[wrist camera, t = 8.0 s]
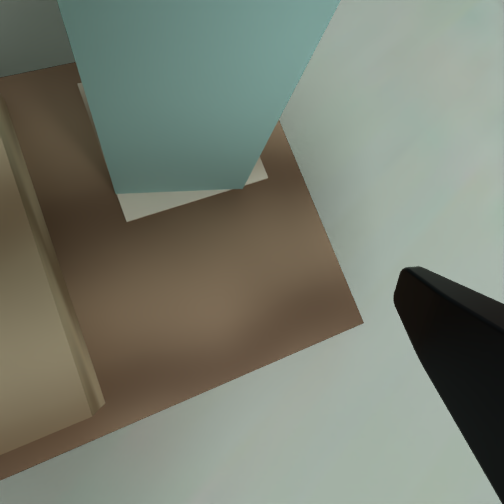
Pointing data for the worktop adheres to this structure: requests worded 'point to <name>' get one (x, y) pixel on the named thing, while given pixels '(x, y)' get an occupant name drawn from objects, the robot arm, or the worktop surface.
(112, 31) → the column
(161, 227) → the baseplate
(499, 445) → the robot arm
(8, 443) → the beam
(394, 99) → the worktop surface
